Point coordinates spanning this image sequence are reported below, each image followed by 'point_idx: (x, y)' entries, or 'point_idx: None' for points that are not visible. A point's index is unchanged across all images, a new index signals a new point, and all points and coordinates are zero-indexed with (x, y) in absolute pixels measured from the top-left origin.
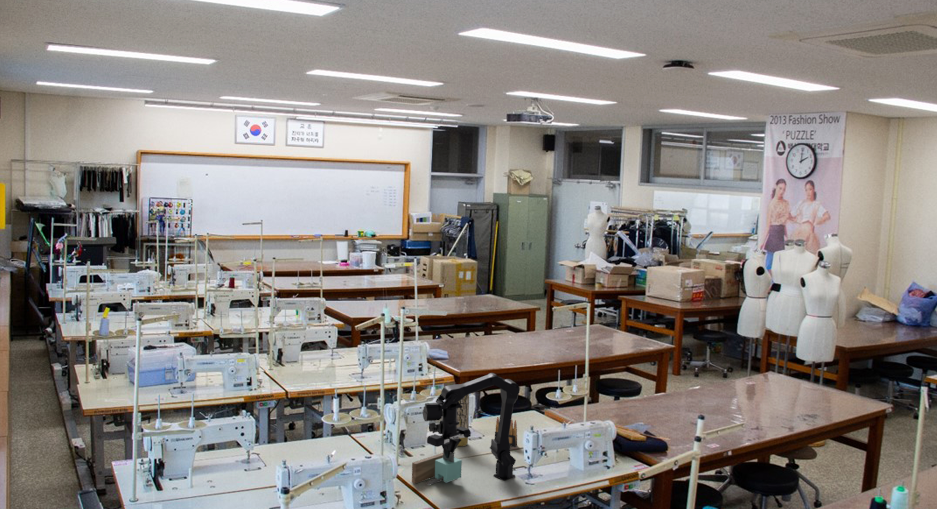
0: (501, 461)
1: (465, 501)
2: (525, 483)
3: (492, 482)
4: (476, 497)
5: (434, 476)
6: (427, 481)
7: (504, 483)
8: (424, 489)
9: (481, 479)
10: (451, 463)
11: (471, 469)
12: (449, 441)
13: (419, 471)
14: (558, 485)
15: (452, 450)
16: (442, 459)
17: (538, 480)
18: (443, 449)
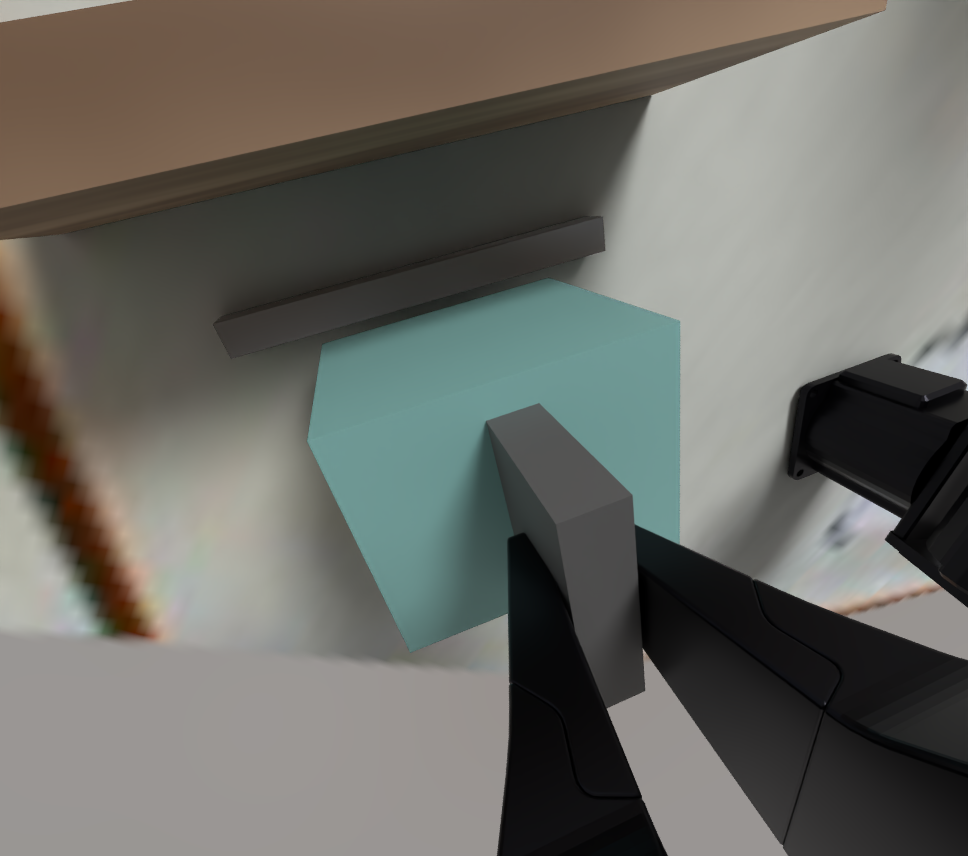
0: (940, 494)
1: (413, 665)
2: (825, 531)
3: (721, 471)
4: (504, 630)
5: (394, 154)
6: (222, 331)
7: (757, 503)
8: (156, 425)
9: (707, 404)
10: (501, 614)
11: (800, 173)
12: (912, 825)
13: (56, 219)
14: (888, 580)
15: (672, 684)
16: (460, 446)
17: (890, 515)
18: (510, 702)
